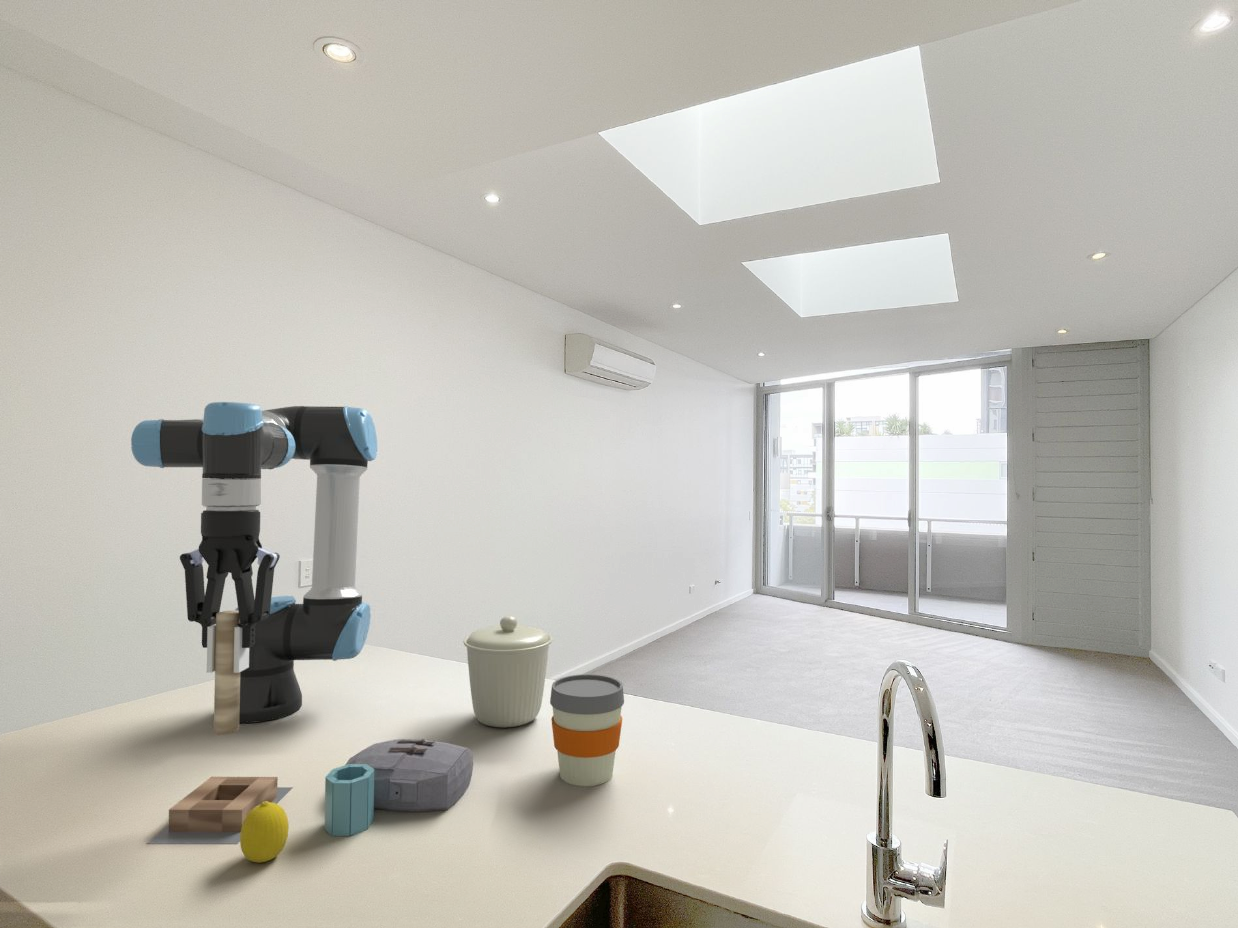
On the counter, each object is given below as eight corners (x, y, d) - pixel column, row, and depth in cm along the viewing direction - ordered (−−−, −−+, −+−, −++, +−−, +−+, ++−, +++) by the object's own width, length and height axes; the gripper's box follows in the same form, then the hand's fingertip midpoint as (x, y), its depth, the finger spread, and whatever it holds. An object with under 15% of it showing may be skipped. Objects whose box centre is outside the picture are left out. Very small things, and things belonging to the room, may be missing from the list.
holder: (211, 796, 103) (211, 776, 103) (277, 796, 103) (277, 776, 103) (168, 831, 93) (168, 809, 93) (241, 831, 93) (242, 809, 93)
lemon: (251, 852, 89) (252, 792, 89) (294, 851, 90) (295, 790, 90) (231, 877, 84) (232, 813, 84) (277, 875, 84) (278, 811, 84)
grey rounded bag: (481, 779, 112) (368, 770, 114) (482, 728, 112) (368, 721, 114) (446, 826, 97) (317, 815, 99) (447, 768, 97) (318, 758, 99)
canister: (568, 714, 141) (570, 614, 141) (510, 743, 126) (512, 630, 126) (504, 698, 151) (505, 604, 151) (443, 722, 136) (444, 618, 136)
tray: (215, 792, 106) (215, 786, 106) (292, 792, 106) (292, 787, 106) (146, 849, 90) (146, 843, 90) (237, 849, 90) (237, 843, 90)
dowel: (221, 725, 99) (224, 610, 99) (243, 725, 99) (246, 610, 99) (208, 734, 96) (211, 614, 96) (231, 734, 96) (234, 615, 96)
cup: (336, 818, 98) (337, 763, 98) (377, 818, 98) (378, 763, 98) (318, 841, 92) (319, 782, 92) (362, 841, 92) (363, 782, 92)
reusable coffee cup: (638, 773, 114) (639, 684, 114) (585, 799, 105) (586, 702, 105) (586, 751, 123) (588, 669, 123) (533, 773, 113) (534, 684, 113)
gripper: (158, 509, 94) (154, 677, 94) (274, 510, 94) (271, 677, 94) (191, 506, 102) (187, 662, 101) (299, 507, 102) (296, 662, 102)
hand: (228, 669), depth 98 cm, fingers closed on dowel, 3 cm apart
